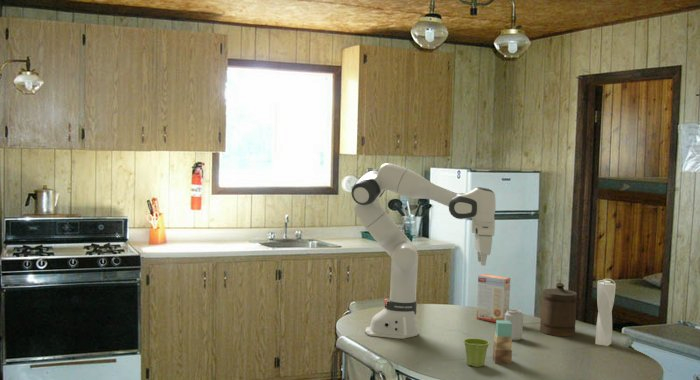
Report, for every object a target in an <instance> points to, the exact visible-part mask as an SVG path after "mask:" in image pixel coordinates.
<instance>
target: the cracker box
mask: <svg viewBox="0 0 700 380" xmlns="http://www.w3.org/2000/svg"><path fill="white" fill-rule="evenodd" d="M477 276H478V277H477V278H478V279H477V295H476V296H477V298H476V299H477V300H476V302H477V303H476V320H480V319H481V321H485V322H487V321H488V322H492V323H496V320H504V321H505V313H506V312H507V310H510V297H511V295H510V294H511V277H506V276H500V275H494V274H493V275H492V274H483V273H482V274H479V275H477Z"/></svg>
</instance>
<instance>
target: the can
mask: <svg viewBox="0 0 700 380" xmlns="http://www.w3.org/2000/svg"><path fill="white" fill-rule="evenodd" d="M505 321H510V322H511V323H512V332H511V337H512V341H520V340H521V339H523V327H524V326H523V324H524V323H523V322H524V314H523V312H522V310H520V309H510V308H509V310H507V312H506V313H505Z"/></svg>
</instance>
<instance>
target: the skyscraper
mask: <svg viewBox="0 0 700 380" xmlns="http://www.w3.org/2000/svg"><path fill="white" fill-rule="evenodd" d="M612 282H613V283H612ZM616 286H617V283H616V282H615V281H614V279H612V278H603V279H600V280H597V284H596V299H597V300H596V301H597V303H596V305H597V311H598V312H597V319H596V326H595V343H594V345H599V346H604V347H609V346H610V345H612V339H613V338H612V337H613V315H612V314H613V313H612V311H613V307H614V303H615V296H616Z"/></svg>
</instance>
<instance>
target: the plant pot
mask: <svg viewBox="0 0 700 380" xmlns="http://www.w3.org/2000/svg"><path fill="white" fill-rule="evenodd" d="M463 343H464V347H465V354H466V362H467V365H468V366H472V367H475V368H476V367H479V368H480V367H483V366H485V362H486V361H485V360H486V356H487V351H488V350H487V349H488V347H489V345H490V341H489V340H486V339H481V338H475V337H474V338H472V337H471V338H470V337H469V338H465V339H463Z"/></svg>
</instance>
